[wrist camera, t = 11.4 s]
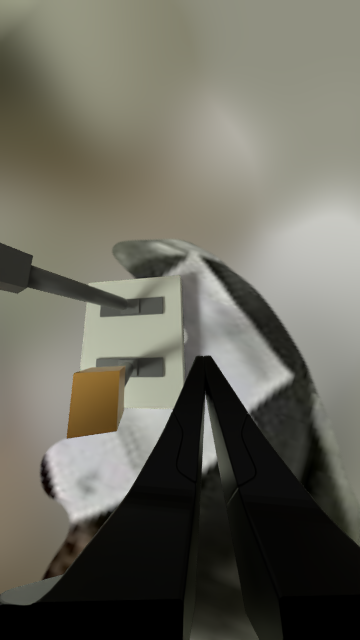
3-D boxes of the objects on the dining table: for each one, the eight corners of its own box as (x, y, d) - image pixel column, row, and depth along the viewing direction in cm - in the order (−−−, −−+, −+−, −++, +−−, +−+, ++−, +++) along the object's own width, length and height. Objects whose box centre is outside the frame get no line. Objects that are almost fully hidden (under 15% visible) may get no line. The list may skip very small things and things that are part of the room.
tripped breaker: (134, 378, 16) (116, 430, 6) (117, 380, 16) (66, 438, 6) (135, 357, 17) (119, 370, 6) (119, 357, 17) (73, 373, 6)
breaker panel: (185, 401, 18) (150, 557, 5) (91, 399, 20) (-146, 515, 6) (182, 283, 21) (154, 170, 8) (100, 289, 23) (-45, 204, 9)
